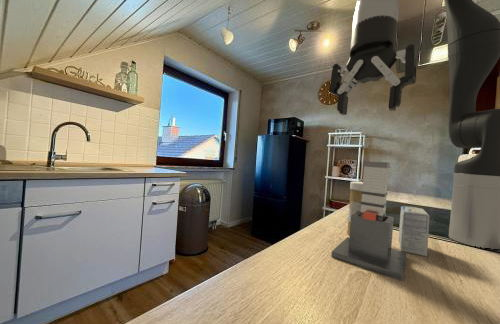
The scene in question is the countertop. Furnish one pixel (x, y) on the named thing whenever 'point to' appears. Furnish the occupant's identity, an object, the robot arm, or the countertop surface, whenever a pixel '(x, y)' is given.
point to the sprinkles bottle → (354, 200)
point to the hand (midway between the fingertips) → (365, 112)
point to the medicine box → (413, 230)
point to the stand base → (372, 245)
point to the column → (375, 188)
